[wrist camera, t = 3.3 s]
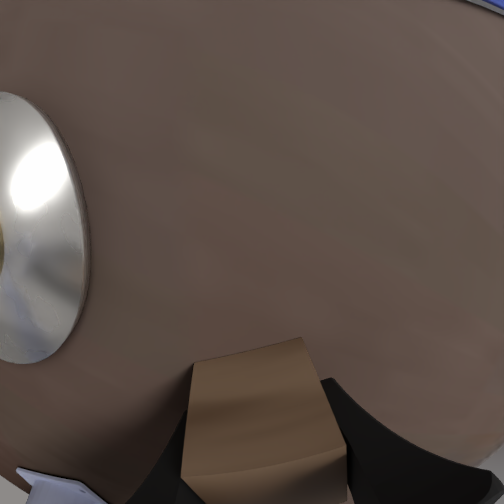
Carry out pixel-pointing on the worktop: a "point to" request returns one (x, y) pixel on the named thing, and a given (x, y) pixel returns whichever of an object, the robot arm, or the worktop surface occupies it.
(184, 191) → the worktop surface
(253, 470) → the walnut block
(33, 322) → the balance
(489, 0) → the hard drive
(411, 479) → the robot arm
